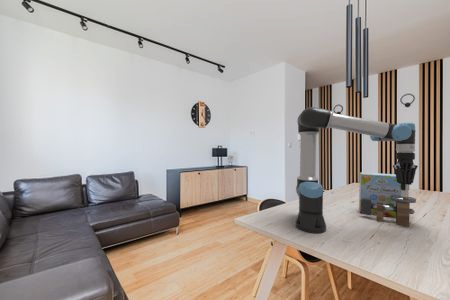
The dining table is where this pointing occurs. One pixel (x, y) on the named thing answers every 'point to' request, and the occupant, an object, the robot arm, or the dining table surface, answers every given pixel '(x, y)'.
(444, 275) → the dining table surface
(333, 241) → the dining table surface
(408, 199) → the lock wheel
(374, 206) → the cube-head mallet
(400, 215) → the notched wooden block
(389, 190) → the snack box
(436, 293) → the dining table surface
